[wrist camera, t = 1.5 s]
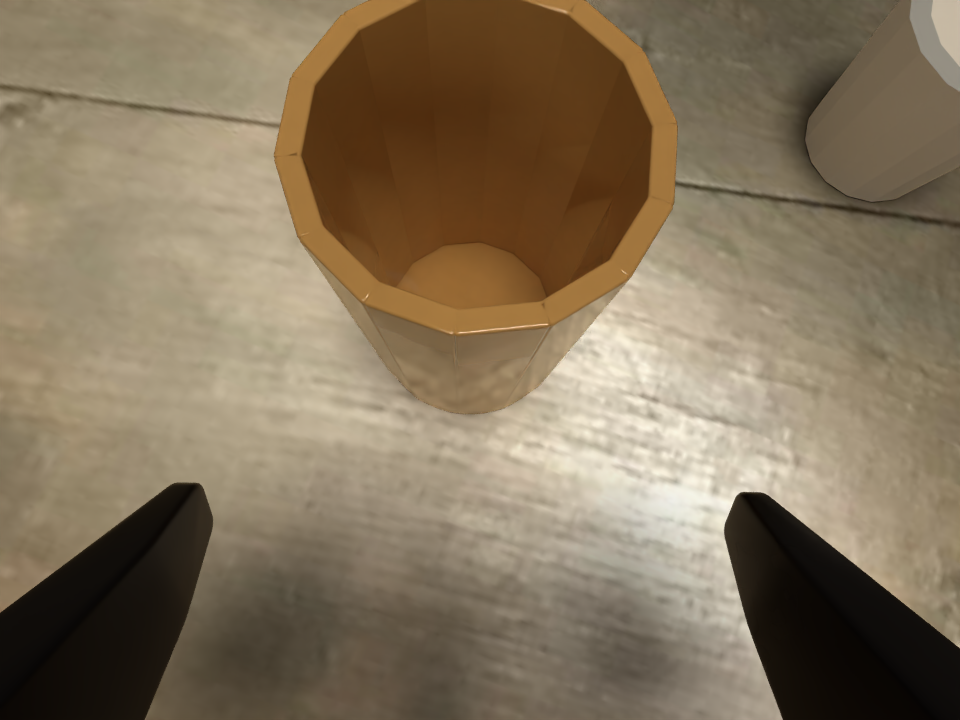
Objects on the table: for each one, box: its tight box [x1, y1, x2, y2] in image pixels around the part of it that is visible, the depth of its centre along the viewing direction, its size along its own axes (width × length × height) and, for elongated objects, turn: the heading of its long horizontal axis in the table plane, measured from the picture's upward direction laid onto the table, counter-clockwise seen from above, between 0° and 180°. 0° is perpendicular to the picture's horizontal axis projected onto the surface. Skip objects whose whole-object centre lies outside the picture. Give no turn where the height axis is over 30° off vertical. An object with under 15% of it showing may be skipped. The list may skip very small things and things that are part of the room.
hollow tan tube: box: [274, 0, 678, 414], centre depth 17 cm, size 7×8×13 cm
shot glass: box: [805, 0, 960, 202], centre depth 22 cm, size 7×7×7 cm
